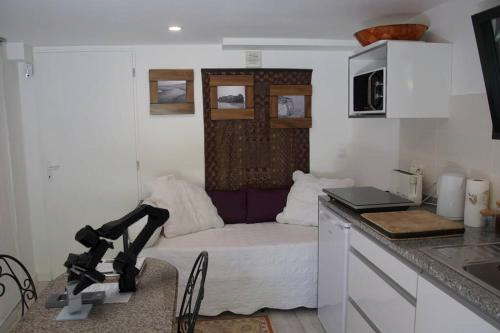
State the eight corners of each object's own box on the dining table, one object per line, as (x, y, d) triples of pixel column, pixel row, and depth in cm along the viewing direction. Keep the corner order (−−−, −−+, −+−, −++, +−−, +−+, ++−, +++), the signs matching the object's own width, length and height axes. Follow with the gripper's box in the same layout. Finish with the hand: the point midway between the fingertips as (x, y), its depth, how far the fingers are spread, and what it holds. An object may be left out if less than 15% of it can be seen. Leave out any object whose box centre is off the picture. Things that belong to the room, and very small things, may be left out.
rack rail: (105, 295, 153) (105, 290, 152) (101, 304, 146) (101, 298, 146) (52, 299, 150) (51, 294, 150) (45, 308, 143) (44, 302, 143)
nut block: (79, 305, 142) (77, 279, 141) (82, 309, 139) (80, 283, 137) (67, 308, 140) (65, 282, 138) (69, 313, 136) (67, 286, 135)
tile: (93, 305, 145) (92, 303, 145) (85, 319, 135) (85, 317, 135) (64, 307, 144) (64, 305, 143) (55, 321, 134) (55, 319, 134)
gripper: (66, 239, 145) (38, 277, 137) (95, 248, 134) (68, 290, 126) (86, 253, 152) (61, 290, 144) (116, 262, 141) (91, 303, 134)
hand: (69, 293), depth 137 cm, fingers closed on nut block, 5 cm apart
